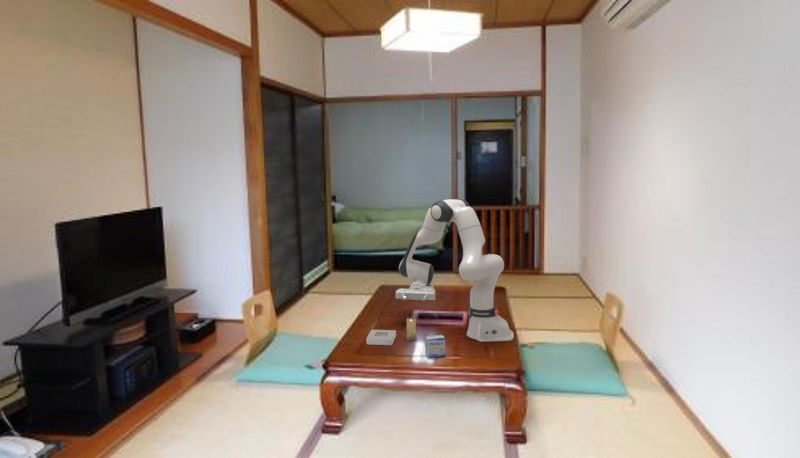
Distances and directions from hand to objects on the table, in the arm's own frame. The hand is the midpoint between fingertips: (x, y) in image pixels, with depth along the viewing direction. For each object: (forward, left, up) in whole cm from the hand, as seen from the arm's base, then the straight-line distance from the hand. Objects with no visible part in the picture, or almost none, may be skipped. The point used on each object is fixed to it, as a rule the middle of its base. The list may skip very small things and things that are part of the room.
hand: (413, 298), depth 272 cm
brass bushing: (0, +12, -16) cm, 20 cm away
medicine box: (-13, +31, -17) cm, 38 cm away
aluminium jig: (+14, +15, -16) cm, 26 cm away
